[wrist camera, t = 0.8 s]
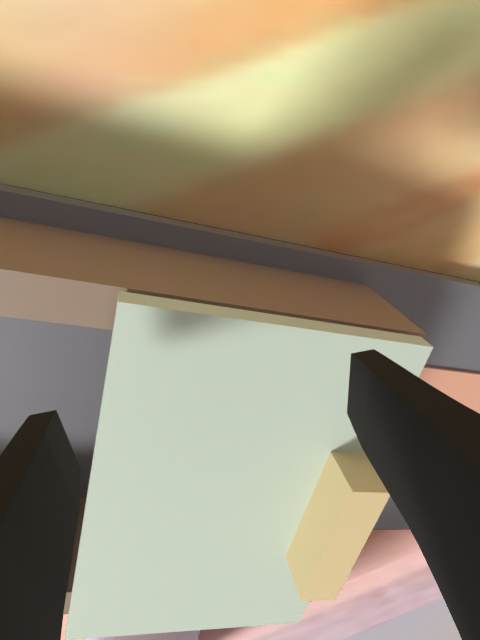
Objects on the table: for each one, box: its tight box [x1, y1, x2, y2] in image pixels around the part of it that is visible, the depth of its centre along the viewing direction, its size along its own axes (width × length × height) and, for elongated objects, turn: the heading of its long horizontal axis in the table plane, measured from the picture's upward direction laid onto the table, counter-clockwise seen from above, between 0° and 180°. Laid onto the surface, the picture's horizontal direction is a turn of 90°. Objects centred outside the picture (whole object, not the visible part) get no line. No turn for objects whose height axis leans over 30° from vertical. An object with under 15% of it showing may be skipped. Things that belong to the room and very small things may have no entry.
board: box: [0, 184, 480, 614], centre depth 21 cm, size 18×38×6 cm, turn 75°
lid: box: [65, 291, 433, 640], centre depth 17 cm, size 16×11×3 cm
